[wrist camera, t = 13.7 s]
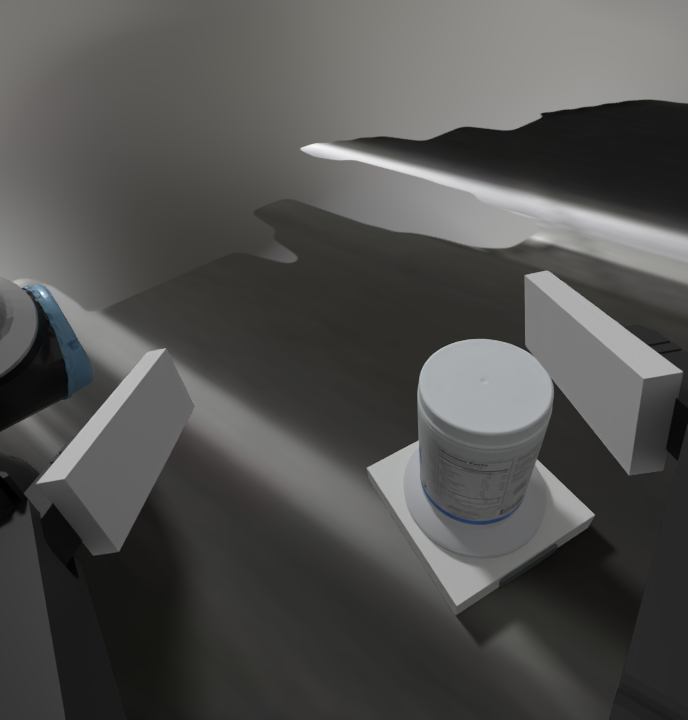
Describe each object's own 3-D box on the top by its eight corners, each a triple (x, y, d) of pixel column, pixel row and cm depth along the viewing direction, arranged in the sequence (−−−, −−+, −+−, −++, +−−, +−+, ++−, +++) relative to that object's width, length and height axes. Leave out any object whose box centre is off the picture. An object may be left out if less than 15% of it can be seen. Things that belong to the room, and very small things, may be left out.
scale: (369, 480, 46) (365, 462, 44) (480, 420, 50) (482, 401, 48) (457, 619, 36) (459, 605, 33) (590, 530, 39) (600, 512, 37)
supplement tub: (426, 436, 45) (426, 330, 35) (523, 449, 42) (552, 339, 32) (412, 523, 39) (406, 423, 29) (525, 545, 36) (562, 444, 26)
